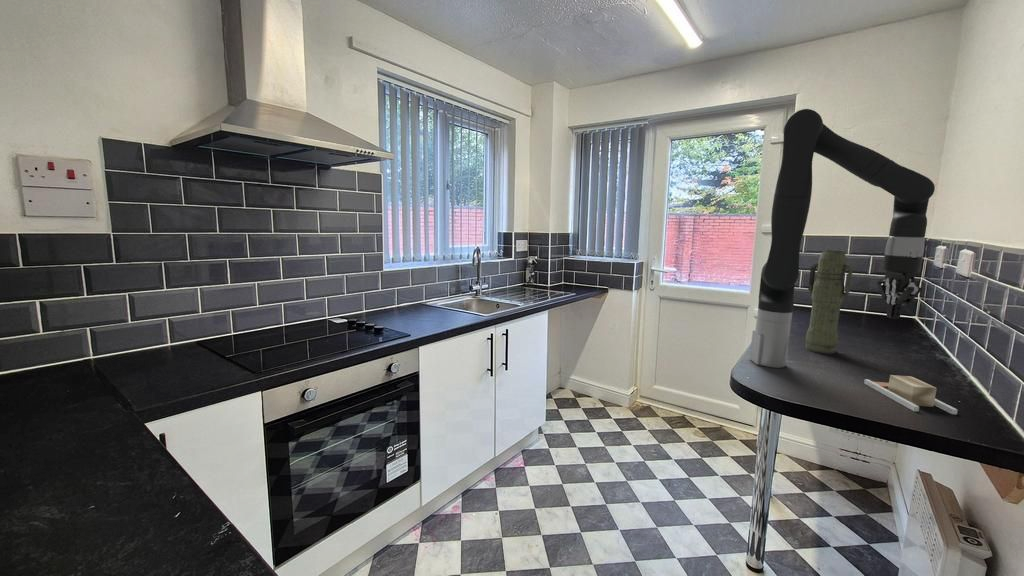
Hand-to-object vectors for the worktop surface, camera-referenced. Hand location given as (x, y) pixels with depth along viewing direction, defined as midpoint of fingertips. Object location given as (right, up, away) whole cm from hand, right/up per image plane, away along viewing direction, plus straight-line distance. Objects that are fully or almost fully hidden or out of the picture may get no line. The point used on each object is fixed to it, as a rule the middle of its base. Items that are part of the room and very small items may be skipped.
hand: (892, 318), depth 115 cm
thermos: (+5, -14, +35) cm, 38 cm away
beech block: (-2, -20, -7) cm, 22 cm away
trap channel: (-2, -20, -6) cm, 21 cm away
